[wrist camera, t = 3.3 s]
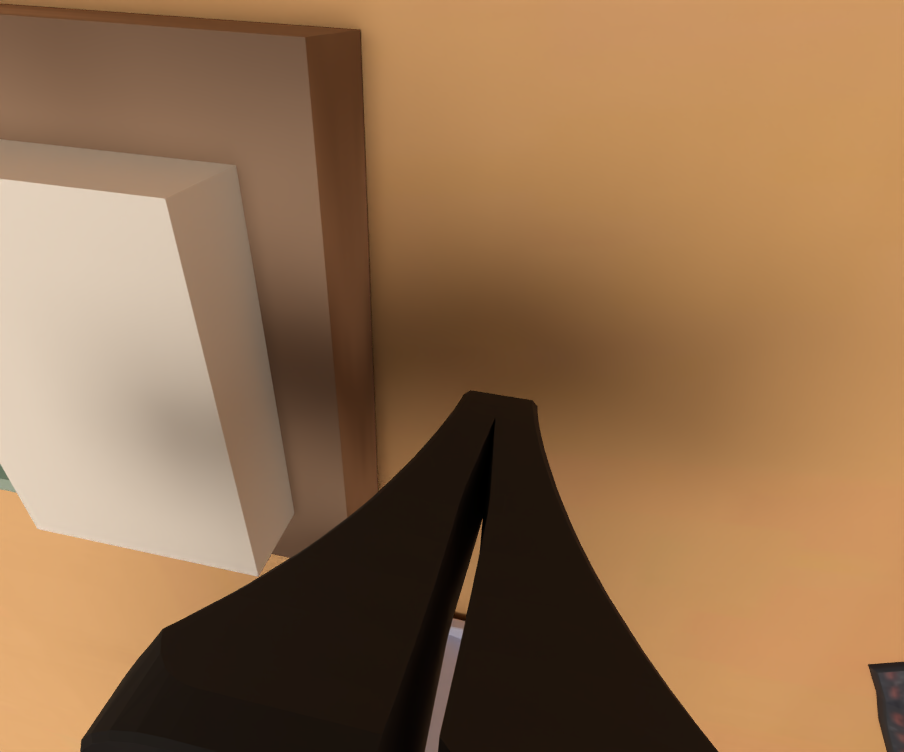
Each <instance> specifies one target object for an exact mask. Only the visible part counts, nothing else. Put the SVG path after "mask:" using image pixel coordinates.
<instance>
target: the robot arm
mask: <svg viewBox="0 0 904 752" xmlns="http://www.w3.org/2000/svg"><path fill="white" fill-rule="evenodd" d="M482 518H483V522H482ZM481 522H482V533H481V545H480V554H479V559H478V564H477V569H476V573H475V578H474V583H473V588H472V592H471V597H470V602H469V606H468V611H467V615H466V620H465V621H463V620H459V619H454V618H453V616H454V612H455V609H456V606H457V602H458V599H459V596H460V592H461V589H462V586H463V582H464V579H465V576H466V572H467V569H468V566H469V562H470V559H471V556H472V552H473V549H474V546H475V542H476V539H477V535H478V532H479V529H480V525H481ZM80 751H81V752H718V751H717V749H716V748H715V747H714V746H713V744H712V743H711V742H710V741H709V739H708V738H707V737H706V736H705V734H704V733H703V732H702V731H701V729H700V728H699V727H698V725H697V724H696V723H695V722H694V720H693V719H692V718H691V716H690V715H689V714H688V712H687V711H686V710H685V708H684V707H683V706H682V704H681V703H680V702H679V700H678V699H677V698H676V696H675V695H674V694H673V693H672V691H671V690H670V688H669V687H668V686H667V684H666V683H665V681H664V680H663V679H662V677H661V676H660V674H659V673H658V671H657V670H656V669H655V667H654V666H653V664H652V663H651V662H650V660H649V659H648V657H647V656H646V654H645V653H644V652H643V650H642V648H641V647H640V645H639V644H638V642H637V641H636V639H635V637H634V636H633V634H632V633H631V631H630V630H629V628H628V626H627V625H626V623H625V622H624V620H623V618H622V617H621V615H620V614H619V612H618V611H617V609H616V607H615V606H614V604H613V603H612V601H611V600H610V598H609V596H608V594H607V593H606V591H605V589H604V587H603V586H602V584H601V582H600V580H599V578H598V577H597V575H596V573H595V571H594V569H593V568H592V566H591V564H590V562H589V560H588V558H587V556H586V554H585V552H584V550H583V548H582V546H581V544H580V542H579V540H578V538H577V535H576V533H575V531H574V529H573V527H572V524H571V522H570V520H569V517H568V515H567V512H566V510H565V508H564V505H563V503H562V500H561V498H560V495H559V492H558V490H557V487H556V484H555V481H554V478H553V475H552V472H551V469H550V466H549V463H548V460H547V457H546V453H545V450H544V446H543V441H542V437H541V433H540V428H539V422H538V414H537V405H536V404H535V403H534V402H533V400H527V399H520V398H514V397H508V396H502V395H495V394H489V393H483V392H477V391H471V390H470V391H469V392H467V393H465V394H464V395H463V397H462V399H461V400H460V402H459V403H458V405H457V406H456V408H455V409H454V410H453V412H452V413H451V414H450V416H449V417H448V418H447V420H446V421H445V422H444V423H443V425H442V426H441V427H440V428H439V430H438V431H437V432H436V433H435V434H434V435H433V436H432V438H431V439H430V440H429V441H428V442H427V443H426V444H425V446H424V447H423V448H422V449H421V450H420V451H419V452H418V453H417V454H416V456H415V457H414V458H413V459H412V460H411V461H410V462H409V463H408V464H407V465H406V466H405V467H404V468H403V469H402V470H401V471H400V472H399V473H398V474H397V475H396V476H395V477H394V478H393V479H391V480H390V481H389V482H388V483H387V484H386V485H385V486H384V487H383V488H382V489H381V490H380V491H379V492H377V493H376V494H375V495H374V496H373V497H372V498H371V499H369V500H368V501H367V502H366V503H365V504H364V505H362V506H361V507H360V508H359V509H357V510H356V511H355V512H354V513H353V514H351V515H350V516H349V517H348V518H346V519H345V520H344V521H342V522H341V523H340V524H338V525H337V526H336V527H334V528H333V529H332V530H330V531H329V532H328V533H326V534H325V535H323V536H322V537H321V538H319V539H318V540H317V541H315V542H314V543H312V544H311V545H309V546H308V547H307V548H305V549H304V550H302V551H301V552H299V553H298V554H296V555H294V556H293V557H291V558H290V559H288V560H286V561H285V562H283V563H282V564H280V565H278V566H277V567H275V568H273V569H272V570H270V571H269V572H267V573H265V574H264V575H262V576H261V577H259V578H257V579H256V580H254V581H252V582H251V583H249V584H247V585H246V586H244V587H242V588H240V589H239V590H237V591H235V592H233V593H231V594H230V595H228V596H226V597H224V598H222V599H220V600H218V601H216V602H214V603H212V604H210V605H208V606H207V607H205V608H203V609H201V610H199V611H197V612H195V613H193V614H191V615H189V616H187V617H186V618H184V619H182V620H180V621H178V622H176V623H174V624H172V625H170V626H168V627H166V628H164V629H162V631H161V632H160V633H159V634H158V636H157V637H156V638H155V639H154V641H153V642H152V643H151V644H150V646H149V647H148V648H147V649H146V650H145V651H144V653H143V654H142V655H141V656H140V657H139V658H138V660H137V661H136V662H135V664H134V665H133V666H132V667H131V669H130V670H129V671H128V673H127V674H126V676H125V677H124V678H123V680H122V681H121V683H120V684H119V686H118V687H117V689H116V690H115V692H114V693H113V695H112V696H111V698H110V699H109V700H108V702H107V703H106V705H105V706H104V708H103V709H102V711H101V712H100V714H99V715H98V717H97V718H96V720H95V721H94V723H93V724H92V725H91V727H90V728H89V730H88V731H87V733H86V734H85V736H84V737H83V739H82V740H81V750H80Z"/></svg>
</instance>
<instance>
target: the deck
mask: <svg viewBox="0 0 904 752" xmlns="http://www.w3.org/2000/svg"><path fill="white" fill-rule="evenodd" d="M0 139H3V140H12V141H21V142H30V143H39V144H48V145H57V146H66V147H75V148H84V149H94V150H103V151H112V152H121V153H130V154H139V155H148V156H157V157H166V158H175V159H185V160H194V161H203V162H212V163H221V164H230V165H236V169H237V175H238V181H239V187H240V193H241V199H242V205H243V211H244V217H245V223H246V229H247V235H248V240H249V246H250V252H251V258H252V264H253V270H254V276H255V282H256V288H257V294H258V300H259V306H260V312H261V318H262V324H263V330H264V336H265V342H266V348H267V354H268V359H269V365H270V371H271V377H272V383H273V389H274V395H275V401H276V407H277V413H278V419H279V425H280V431H281V437H282V443H283V449H284V455H285V461H286V467H287V473H288V478H289V484H290V490H291V496H292V502H293V508H294V515H293V517H292V519H291V520H290V522H289V524H288V526H287V527H286V529H285V531H284V533H283V534H282V536H281V538H280V540H279V541H278V543H277V545H276V547H275V548H274V550H273V552H272V554H275V555H279V556H284V557H289V558H291V557H293V556H294V555H296V554H298V553H299V552H301V551H302V550H304V549H305V548H307V547H308V546H309V545H311V544H312V543H314V542H315V541H317V540H318V539H319V538H321V537H322V536H323V535H325V534H326V533H328V532H329V531H330V530H332V529H333V528H334V527H336V526H337V525H338V524H340V523H341V522H342V521H344V520H345V519H346V518H348V517H349V516H350V515H351V514H353V513H354V512H355V511H356V510H357V509H359V508H360V507H361V506H362V505H364V504H365V503H366V502H367V501H368V500H369V499H371V498H372V497H373V496H374V495H375V494H376V493H377V492H378V478H377V452H376V426H375V400H374V374H373V348H372V322H371V296H370V270H369V244H368V218H367V192H366V166H365V141H364V115H363V89H362V63H361V37H360V30H357V29H343V28H329V27H315V26H302V25H288V24H274V23H260V22H246V21H232V20H218V19H205V18H191V17H177V16H163V15H149V14H135V13H121V12H107V11H94V10H80V9H66V8H52V7H38V6H24V5H10V4H0Z"/></svg>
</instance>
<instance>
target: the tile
mask: <svg viewBox="0 0 904 752" xmlns="http://www.w3.org/2000/svg"><path fill="white" fill-rule="evenodd" d="M0 464H1V466H2V468H3V470H4V471H5V473H6V475H7V477H8V478H9V480H10V482H11V483H12V485H13V487H14V489H15V490H16V492H17V494H18V496H19V497H20V499H21V501H22V503H23V504H24V506H25V508H26V510H27V511H28V513H29V515H30V516H31V518H32V520H33V522H34V523H35V525H36V527H37V529H40V530H45V531H50V532H54V533H59V534H63V535H68V536H73V537H77V538H82V539H87V540H91V541H96V542H100V543H105V544H110V545H114V546H119V547H124V548H128V549H133V550H137V551H142V552H147V553H151V554H156V555H161V556H165V557H170V558H174V559H179V560H184V561H188V562H193V563H198V564H202V565H207V566H211V567H216V568H221V569H225V570H230V571H234V572H239V573H244V574H248V575H253V576H258V577H259V575H260V573H261V571H262V570H263V568H264V566H265V564H266V563H267V561H268V559H269V557H270V556H271V554H272V552H273V550H274V548H275V547H276V545H277V543H278V541H279V540H280V538H281V536H282V534H283V533H284V531H285V529H286V527H287V526H288V524H289V522H290V520H291V519H292V517H293V515H294V508H293V502H292V496H291V490H290V484H289V478H288V473H287V467H286V461H285V455H284V449H283V443H282V437H281V431H280V425H279V419H278V413H277V407H276V401H275V395H274V389H273V383H272V377H271V371H270V365H269V359H268V354H267V348H266V342H265V336H264V330H263V324H262V318H261V312H260V306H259V300H258V294H257V288H256V282H255V276H254V270H253V264H252V258H251V252H250V246H249V240H248V235H247V229H246V223H245V217H244V211H243V205H242V199H241V193H240V187H239V181H238V175H237V169H236V165H230V164H221V163H212V162H203V161H194V160H185V159H175V158H166V157H157V156H148V155H139V154H130V153H121V152H112V151H103V150H94V149H84V148H75V147H66V146H57V145H48V144H39V143H30V142H21V141H12V140H3V139H0Z"/></svg>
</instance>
